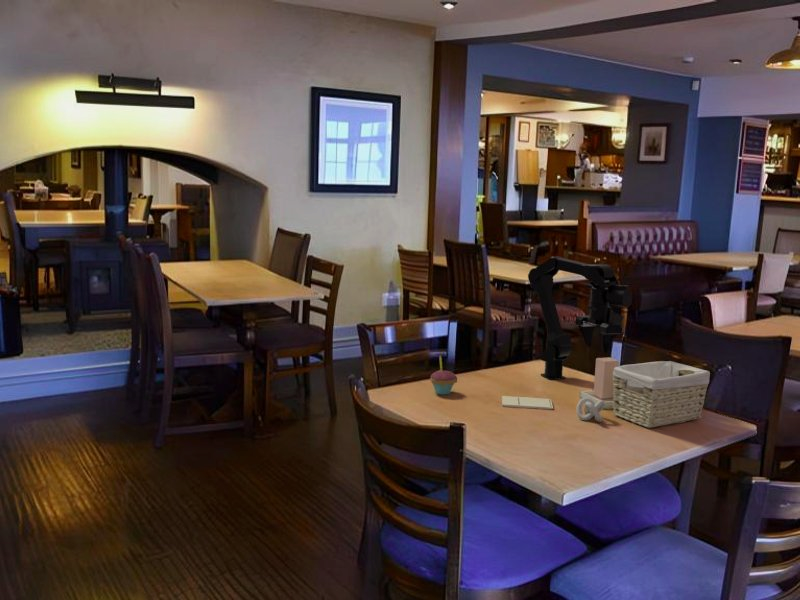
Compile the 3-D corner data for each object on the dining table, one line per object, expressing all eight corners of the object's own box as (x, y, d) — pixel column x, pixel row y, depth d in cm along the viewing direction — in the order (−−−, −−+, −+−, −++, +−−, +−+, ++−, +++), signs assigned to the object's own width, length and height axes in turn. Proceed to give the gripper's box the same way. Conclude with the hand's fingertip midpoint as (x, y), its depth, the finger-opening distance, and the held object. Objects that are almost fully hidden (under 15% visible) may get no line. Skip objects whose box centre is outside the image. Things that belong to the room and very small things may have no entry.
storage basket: (664, 405, 218) (668, 358, 216) (708, 420, 204) (713, 371, 202) (606, 415, 207) (610, 366, 205) (650, 432, 193) (654, 379, 191)
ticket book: (502, 397, 221) (502, 395, 221) (550, 400, 220) (550, 398, 219) (502, 406, 213) (502, 404, 212) (553, 409, 211) (553, 407, 211)
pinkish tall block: (592, 398, 221) (595, 358, 219) (606, 397, 223) (609, 357, 221) (601, 403, 217) (604, 361, 215) (615, 401, 218) (618, 360, 216)
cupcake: (424, 391, 226) (425, 355, 224) (442, 387, 231) (444, 351, 229) (443, 398, 219) (444, 360, 218) (462, 393, 225) (463, 356, 223)
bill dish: (579, 397, 224) (579, 391, 223) (606, 395, 227) (606, 389, 227) (601, 409, 212) (602, 402, 212) (629, 406, 216) (630, 400, 215)
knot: (610, 424, 199) (611, 404, 198) (582, 424, 198) (584, 404, 197) (600, 416, 206) (601, 396, 205) (573, 416, 205) (575, 396, 204)
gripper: (638, 306, 224) (635, 354, 226) (604, 298, 242) (601, 343, 244) (608, 307, 221) (605, 356, 223) (575, 299, 238) (573, 344, 240)
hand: (596, 350), depth 233 cm, fingers open, 9 cm apart
